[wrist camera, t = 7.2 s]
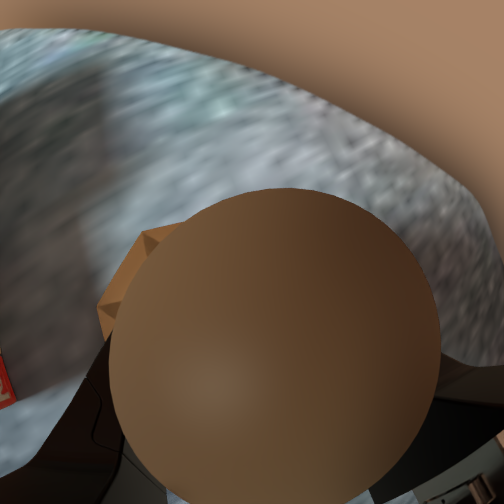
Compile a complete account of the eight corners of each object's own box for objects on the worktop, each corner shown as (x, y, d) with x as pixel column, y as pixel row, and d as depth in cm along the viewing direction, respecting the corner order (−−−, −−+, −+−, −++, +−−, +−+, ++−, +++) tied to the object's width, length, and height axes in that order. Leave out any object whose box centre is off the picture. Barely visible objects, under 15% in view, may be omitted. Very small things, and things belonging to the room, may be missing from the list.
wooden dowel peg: (268, 330, 16) (473, 354, 4) (207, 384, 15) (283, 559, 3) (215, 268, 16) (312, 131, 4) (152, 321, 15) (36, 347, 3)
